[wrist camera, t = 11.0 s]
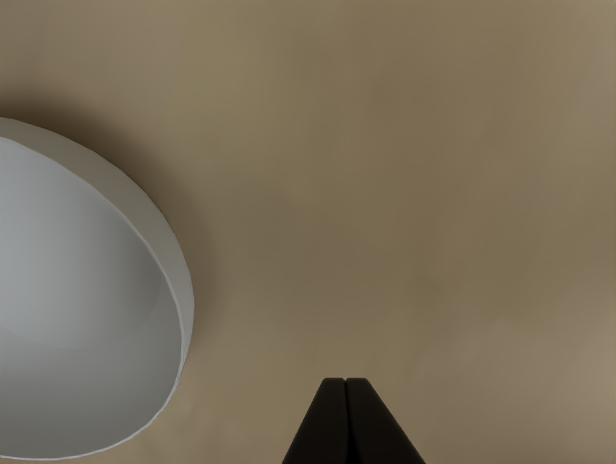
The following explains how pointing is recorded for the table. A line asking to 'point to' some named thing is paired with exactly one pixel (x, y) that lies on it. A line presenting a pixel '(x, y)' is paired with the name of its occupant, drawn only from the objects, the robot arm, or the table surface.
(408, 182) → the table surface
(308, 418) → the robot arm
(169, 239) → the saucepan
